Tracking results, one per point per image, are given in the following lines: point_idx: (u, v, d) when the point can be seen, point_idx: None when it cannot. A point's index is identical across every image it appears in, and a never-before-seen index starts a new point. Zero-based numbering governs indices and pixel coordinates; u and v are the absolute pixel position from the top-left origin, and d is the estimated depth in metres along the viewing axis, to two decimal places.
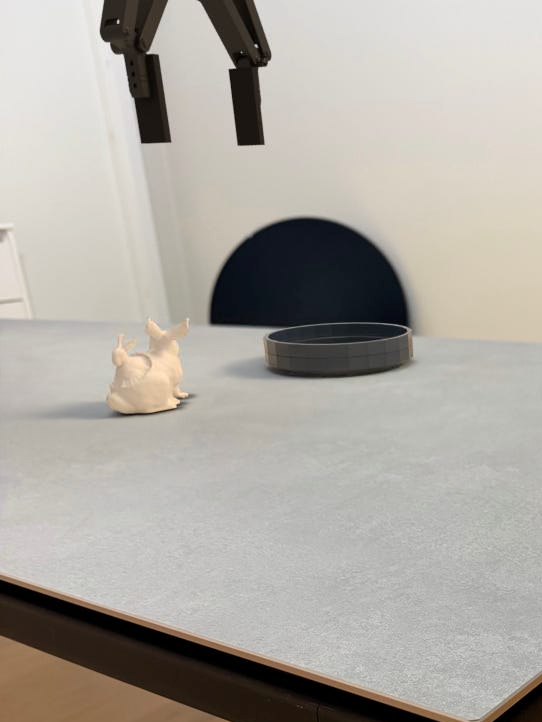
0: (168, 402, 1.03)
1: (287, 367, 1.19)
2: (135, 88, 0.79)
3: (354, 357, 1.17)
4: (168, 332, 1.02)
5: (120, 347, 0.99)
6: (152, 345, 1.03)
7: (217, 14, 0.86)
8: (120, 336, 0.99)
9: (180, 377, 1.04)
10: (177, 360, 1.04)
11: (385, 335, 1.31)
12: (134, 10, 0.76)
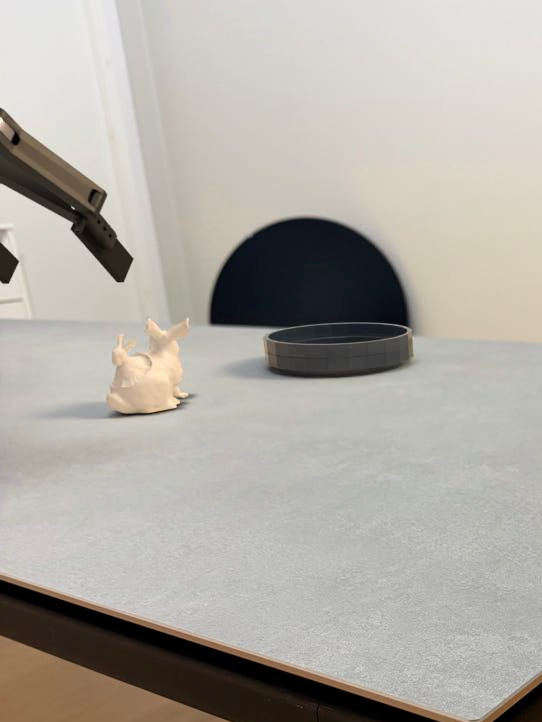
0: (168, 402, 1.03)
1: (287, 367, 1.19)
2: None
3: (354, 357, 1.17)
4: (168, 332, 1.02)
5: (120, 347, 0.99)
6: (152, 345, 1.03)
7: None
8: (120, 336, 0.99)
9: (180, 377, 1.04)
10: (177, 360, 1.04)
11: (385, 335, 1.31)
12: None
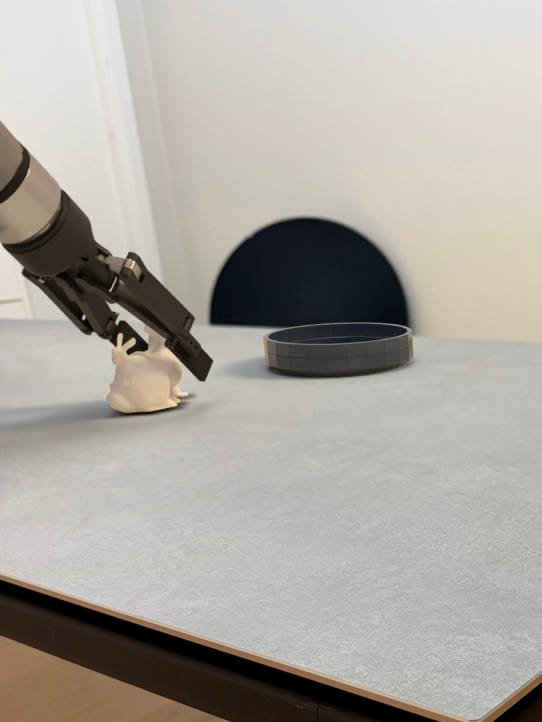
0: (168, 400, 1.03)
1: (287, 367, 1.19)
2: None
3: (354, 357, 1.17)
4: None
5: (119, 346, 0.99)
6: (151, 344, 1.03)
7: None
8: (119, 335, 1.00)
9: (180, 375, 1.04)
10: (176, 359, 1.04)
11: (385, 335, 1.31)
12: (77, 320, 0.99)
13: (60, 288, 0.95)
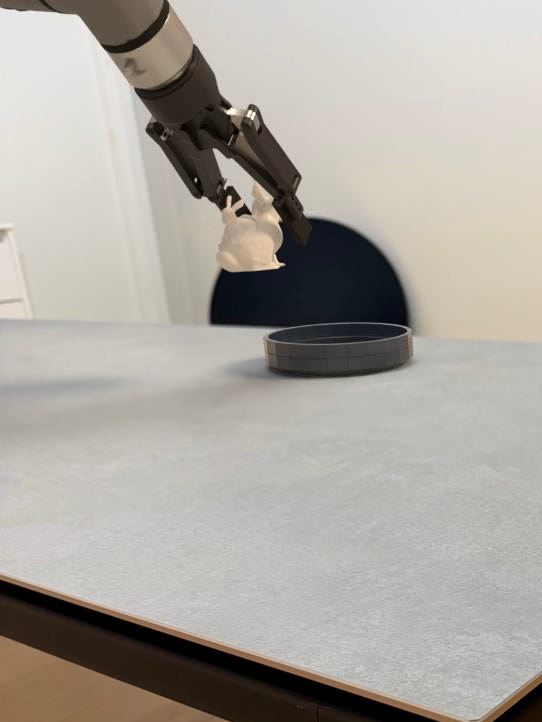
0: (271, 262, 1.10)
1: (287, 367, 1.19)
2: None
3: (354, 357, 1.17)
4: (270, 197, 1.09)
5: (229, 207, 1.06)
6: (255, 210, 1.10)
7: None
8: (229, 197, 1.07)
9: (281, 241, 1.11)
10: (278, 225, 1.11)
11: (385, 335, 1.31)
12: (190, 182, 1.06)
13: (178, 148, 1.03)
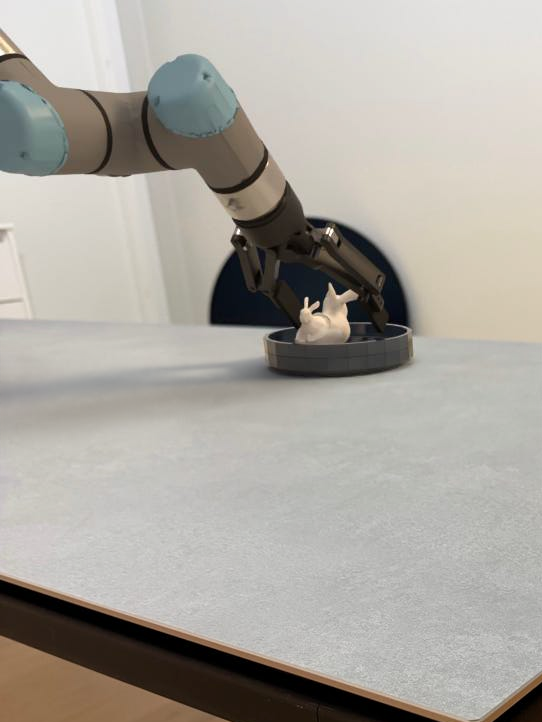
0: None
1: (287, 367, 1.19)
2: None
3: (354, 357, 1.17)
4: (341, 296, 1.22)
5: (306, 308, 1.19)
6: (327, 307, 1.23)
7: None
8: (306, 298, 1.20)
9: (349, 334, 1.24)
10: (346, 320, 1.24)
11: (385, 335, 1.31)
12: (251, 280, 1.19)
13: (251, 254, 1.16)
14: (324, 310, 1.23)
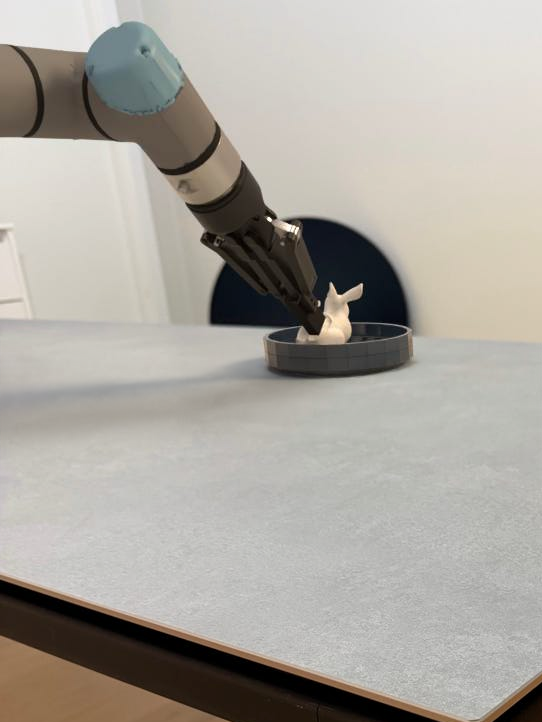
0: None
1: (287, 367, 1.19)
2: None
3: (354, 357, 1.17)
4: (342, 296, 1.23)
5: None
6: (328, 307, 1.23)
7: None
8: None
9: (350, 334, 1.25)
10: (348, 319, 1.24)
11: (385, 335, 1.31)
12: (252, 281, 1.11)
13: (234, 251, 1.09)
14: (325, 310, 1.24)
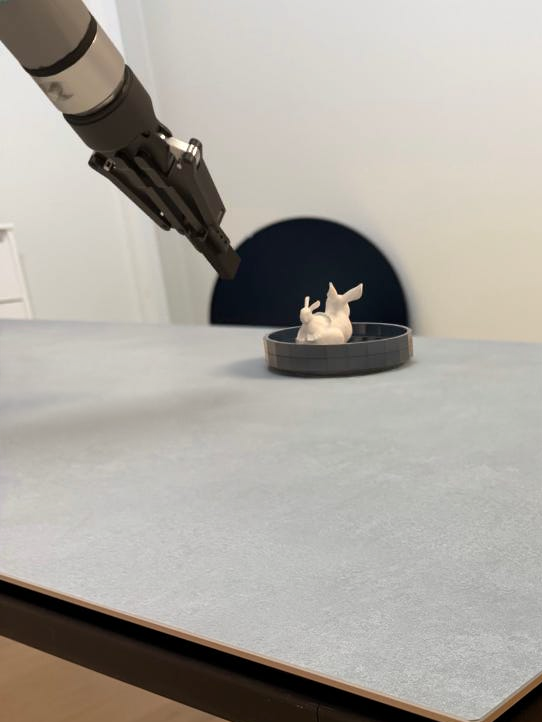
0: None
1: (287, 367, 1.19)
2: None
3: (354, 357, 1.17)
4: (343, 296, 1.23)
5: (307, 307, 1.20)
6: (329, 307, 1.23)
7: None
8: (306, 298, 1.20)
9: (350, 334, 1.25)
10: (348, 320, 1.24)
11: (385, 335, 1.31)
12: (152, 213, 0.98)
13: (128, 177, 0.96)
14: (326, 310, 1.24)
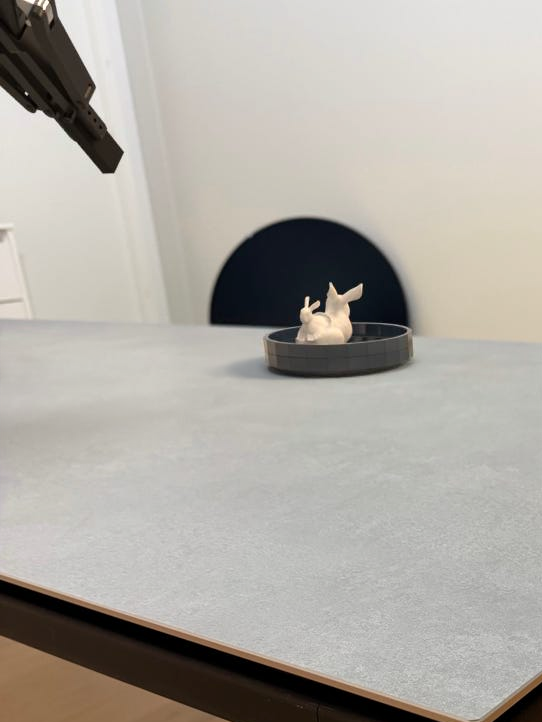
0: None
1: (287, 367, 1.19)
2: None
3: (354, 357, 1.17)
4: (343, 296, 1.23)
5: (307, 307, 1.20)
6: (329, 307, 1.23)
7: None
8: (306, 298, 1.20)
9: (350, 334, 1.25)
10: (348, 320, 1.24)
11: (385, 335, 1.31)
12: (13, 90, 0.87)
13: None
14: (326, 310, 1.24)
